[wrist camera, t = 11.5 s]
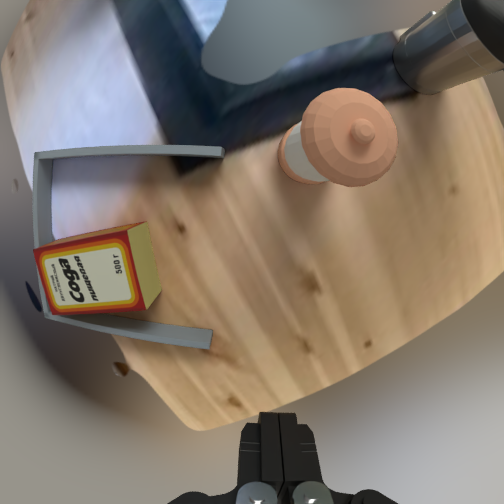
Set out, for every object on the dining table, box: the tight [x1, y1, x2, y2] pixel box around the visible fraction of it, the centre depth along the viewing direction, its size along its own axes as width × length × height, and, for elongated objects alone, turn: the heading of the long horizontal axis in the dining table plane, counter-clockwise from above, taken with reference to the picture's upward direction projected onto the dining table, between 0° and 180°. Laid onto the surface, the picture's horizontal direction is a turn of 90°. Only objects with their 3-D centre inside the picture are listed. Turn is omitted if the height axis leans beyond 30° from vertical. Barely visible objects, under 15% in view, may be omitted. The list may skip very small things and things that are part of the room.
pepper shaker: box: [278, 88, 398, 187], centre depth 24 cm, size 7×7×19 cm
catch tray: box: [33, 145, 225, 349], centre depth 34 cm, size 25×27×4 cm
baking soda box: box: [33, 221, 162, 315], centre depth 34 cm, size 10×6×16 cm
